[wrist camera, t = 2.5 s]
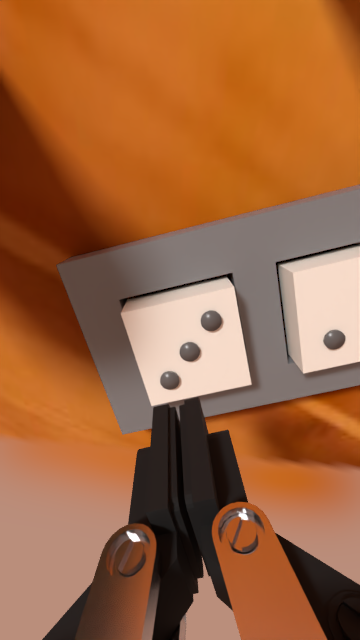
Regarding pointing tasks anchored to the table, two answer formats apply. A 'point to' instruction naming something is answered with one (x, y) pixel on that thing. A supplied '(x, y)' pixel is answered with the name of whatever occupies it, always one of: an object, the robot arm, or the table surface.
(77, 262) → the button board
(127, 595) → the robot arm
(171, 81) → the table surface
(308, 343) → the tile
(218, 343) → the tile
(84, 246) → the table surface
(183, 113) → the table surface
